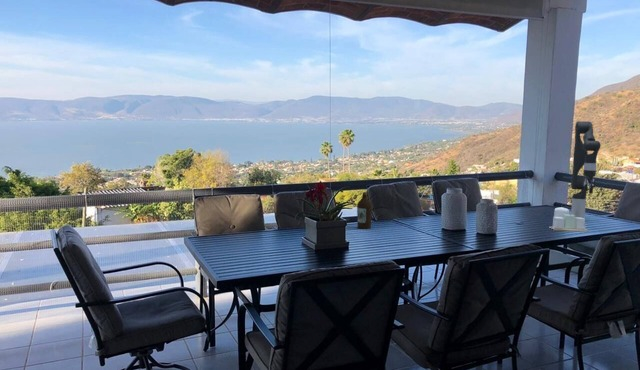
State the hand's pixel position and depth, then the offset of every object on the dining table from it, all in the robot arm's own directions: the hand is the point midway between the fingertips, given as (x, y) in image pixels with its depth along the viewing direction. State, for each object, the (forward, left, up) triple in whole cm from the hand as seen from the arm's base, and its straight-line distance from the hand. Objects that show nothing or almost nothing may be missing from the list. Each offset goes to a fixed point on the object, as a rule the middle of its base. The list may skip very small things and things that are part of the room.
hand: (588, 192), depth 347 cm
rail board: (+6, -14, -26) cm, 30 cm away
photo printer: (-14, -11, -26) cm, 31 cm away
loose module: (+6, -14, -24) cm, 29 cm away
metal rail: (+6, -14, -26) cm, 30 cm away
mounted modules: (+6, -14, -24) cm, 29 cm away
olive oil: (+15, -156, -26) cm, 159 cm away
